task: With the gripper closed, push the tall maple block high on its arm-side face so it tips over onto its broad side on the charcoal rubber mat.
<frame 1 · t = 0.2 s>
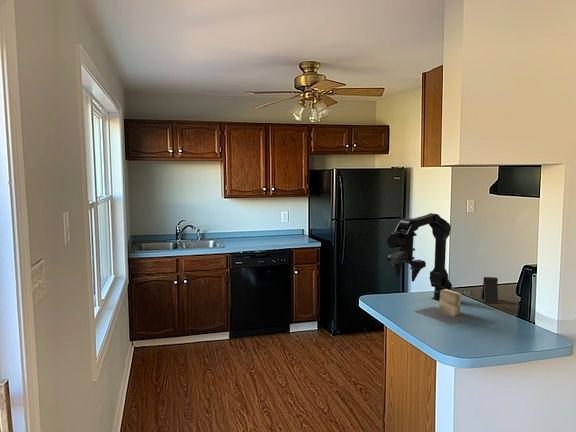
hand: (405, 279, 213), 14 cm above the countertop, fingers open, 9 cm apart
mat: (442, 315, 206), on the countertop
phone stand: (489, 301, 230), on the countertop
maple block: (449, 313, 209), resting on mat
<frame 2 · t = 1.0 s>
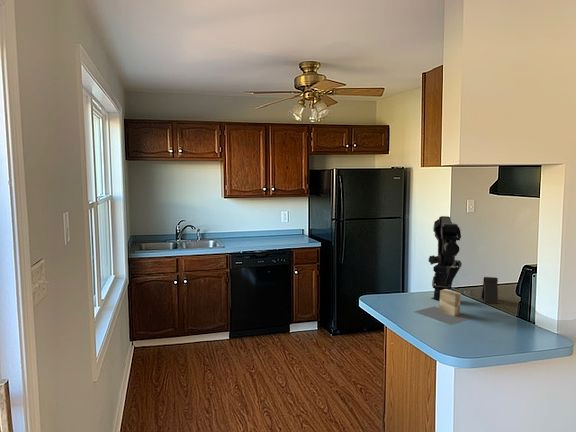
hand: (446, 284, 213), 12 cm above the countertop, fingers open, 9 cm apart
nothing on the countertop moved.
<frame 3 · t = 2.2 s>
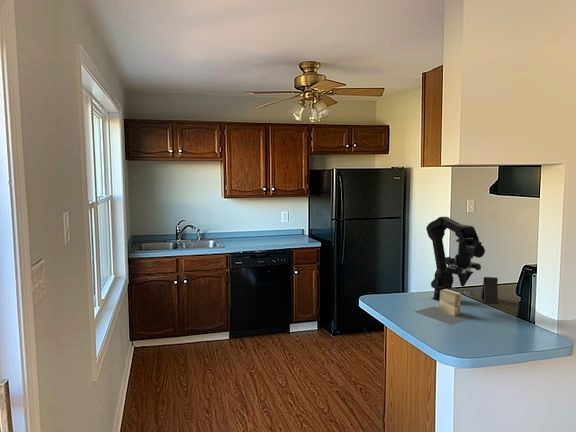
hand: (462, 286, 213), 12 cm above the countertop, fingers closed
nothing on the countertop moved.
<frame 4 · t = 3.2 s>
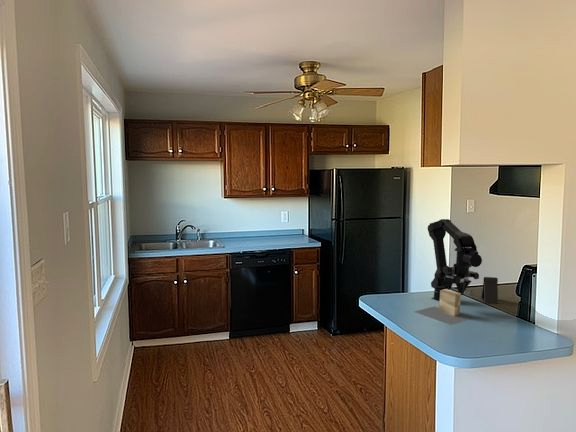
hand: (460, 295, 213), 8 cm above the countertop, fingers closed
nothing on the countertop moved.
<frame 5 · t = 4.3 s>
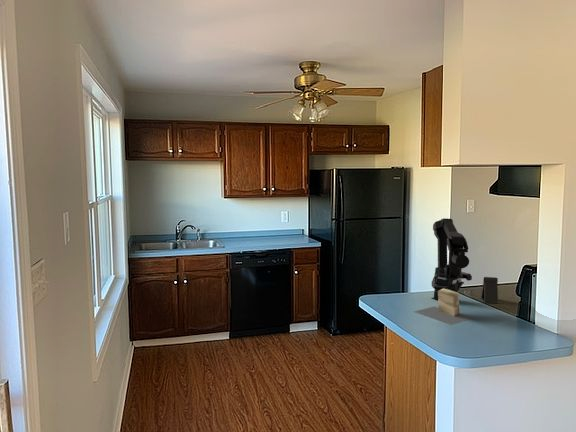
hand: (453, 296, 209), 8 cm above the countertop, fingers closed
maple block: (449, 312, 209), point 1 cm above the countertop, tilted 10°, touching mat
everything else where it was.
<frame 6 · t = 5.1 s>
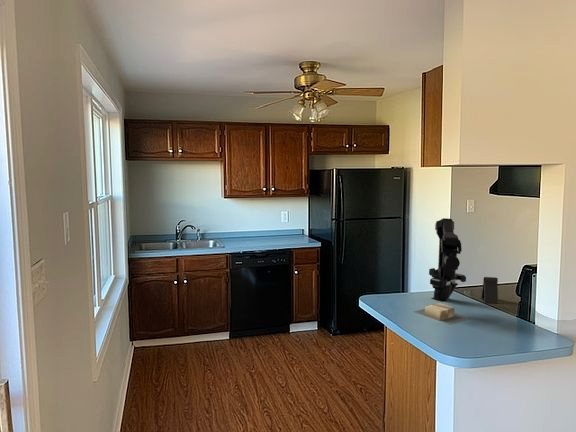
hand: (447, 298, 207), 8 cm above the countertop, fingers closed
maple block: (446, 309, 208), point 2 cm above the countertop, tilted 90°, touching mat
everything else where it was.
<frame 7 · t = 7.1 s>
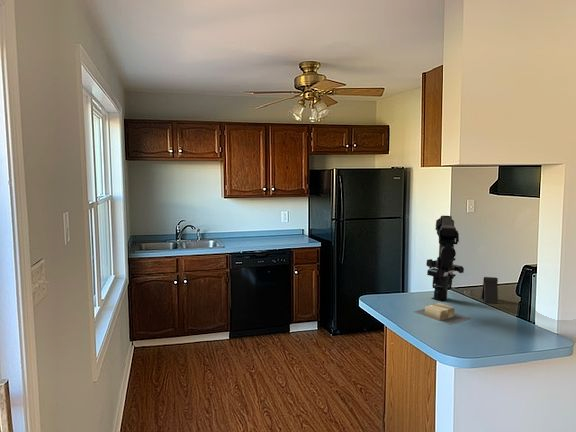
hand: (444, 289, 206), 12 cm above the countertop, fingers closed
nothing on the countertop moved.
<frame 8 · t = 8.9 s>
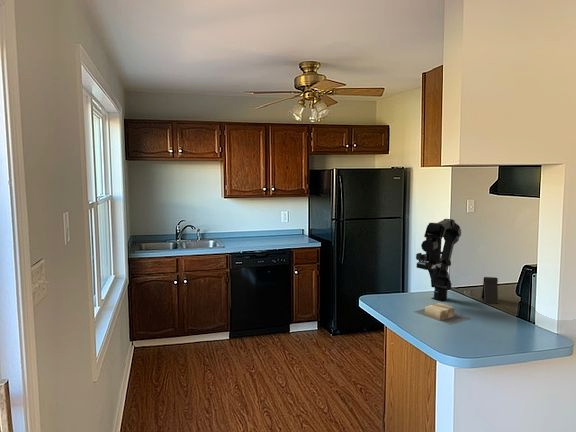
hand: (432, 281, 219), 12 cm above the countertop, fingers closed
nothing on the countertop moved.
at the end: maple block tilted 90°; maple block touching mat; maple block inside the target area on the mat (2.0 cm from its centre), point 2.4 cm above the mat's base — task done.
